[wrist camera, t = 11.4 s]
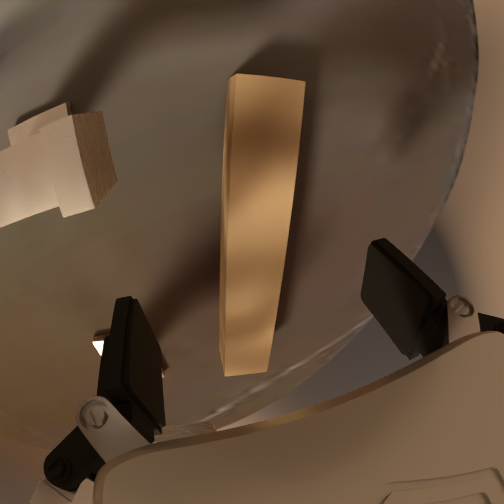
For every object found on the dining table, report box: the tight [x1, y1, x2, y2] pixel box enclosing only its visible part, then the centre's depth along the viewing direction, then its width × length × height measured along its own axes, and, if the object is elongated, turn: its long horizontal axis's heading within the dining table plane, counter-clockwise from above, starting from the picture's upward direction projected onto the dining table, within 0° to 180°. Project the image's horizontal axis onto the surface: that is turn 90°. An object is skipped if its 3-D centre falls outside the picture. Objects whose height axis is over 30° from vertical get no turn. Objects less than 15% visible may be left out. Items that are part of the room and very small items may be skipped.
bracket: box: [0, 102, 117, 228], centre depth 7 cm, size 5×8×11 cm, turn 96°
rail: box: [220, 74, 305, 376], centre depth 16 cm, size 18×3×3 cm, turn 176°
